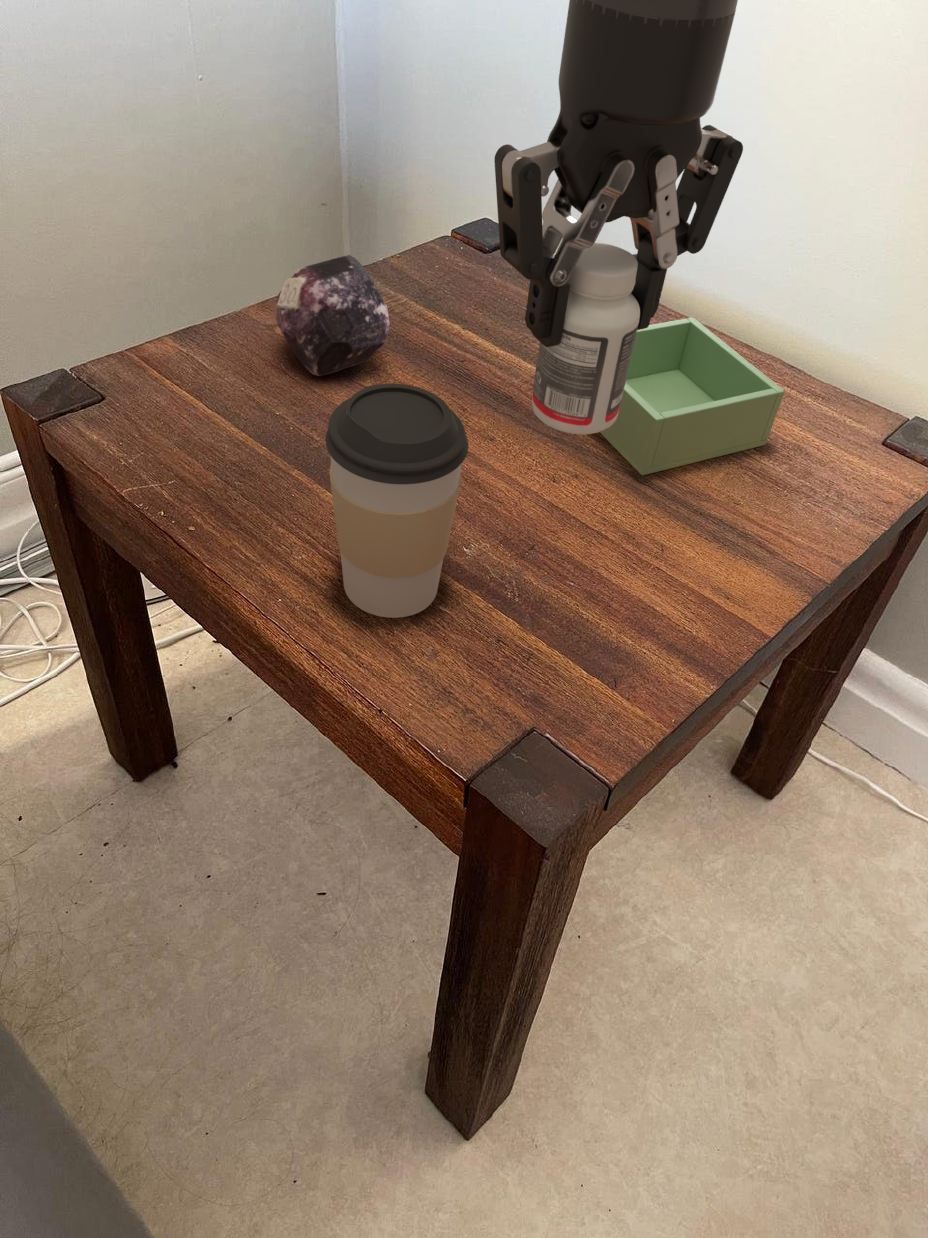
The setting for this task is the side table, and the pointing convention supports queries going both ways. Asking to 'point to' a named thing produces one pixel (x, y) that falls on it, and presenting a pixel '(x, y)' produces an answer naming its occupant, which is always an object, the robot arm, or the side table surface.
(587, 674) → the side table surface
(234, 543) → the side table surface
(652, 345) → the bin
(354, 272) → the mineral specimen
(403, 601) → the coffee cup
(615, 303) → the pill bottle
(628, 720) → the side table surface
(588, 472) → the side table surface
